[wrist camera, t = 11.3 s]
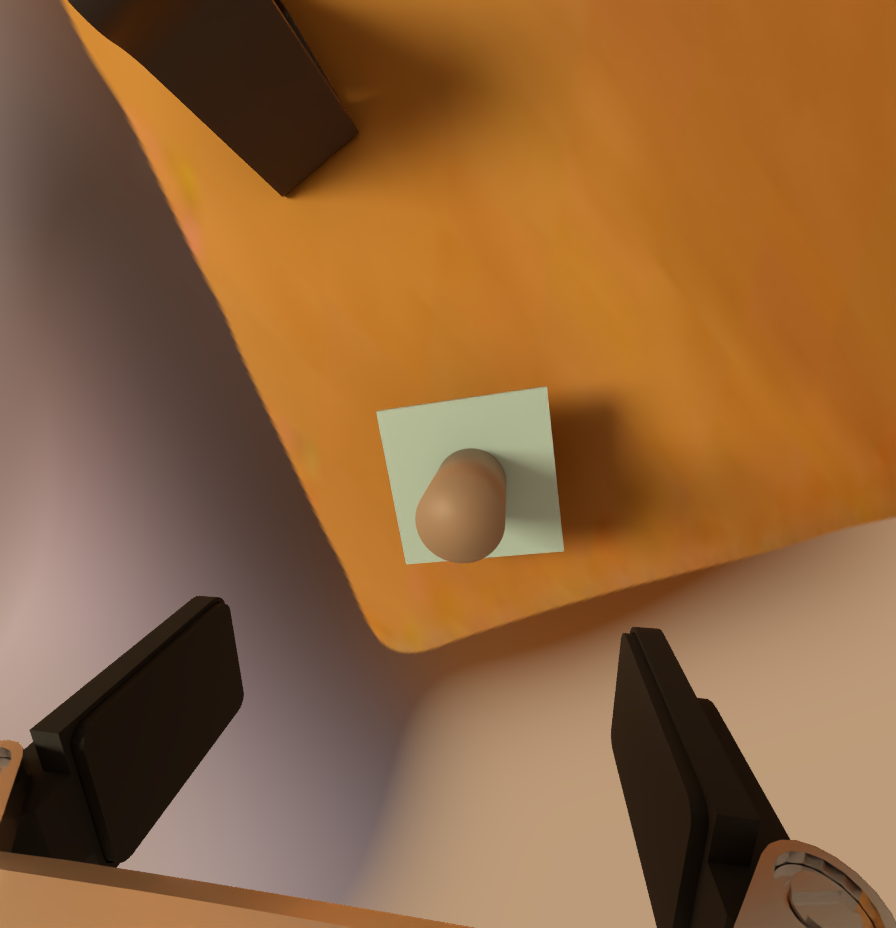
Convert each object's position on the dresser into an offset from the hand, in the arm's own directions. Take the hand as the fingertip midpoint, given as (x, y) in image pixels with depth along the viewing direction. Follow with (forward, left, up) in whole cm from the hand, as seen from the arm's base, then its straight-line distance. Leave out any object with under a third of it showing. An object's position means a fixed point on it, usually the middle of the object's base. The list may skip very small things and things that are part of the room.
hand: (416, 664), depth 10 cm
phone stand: (-22, -12, -21) cm, 32 cm away
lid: (0, 0, -16) cm, 16 cm away
